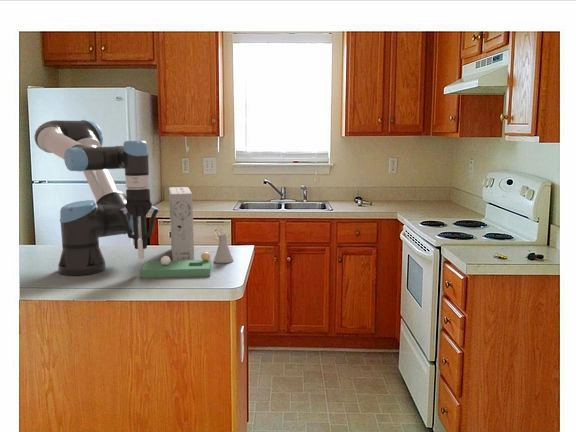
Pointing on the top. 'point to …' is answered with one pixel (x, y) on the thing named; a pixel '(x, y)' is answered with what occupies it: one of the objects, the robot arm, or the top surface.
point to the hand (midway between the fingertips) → (141, 258)
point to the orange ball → (205, 256)
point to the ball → (165, 260)
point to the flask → (223, 251)
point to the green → (177, 268)
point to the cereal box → (181, 223)
